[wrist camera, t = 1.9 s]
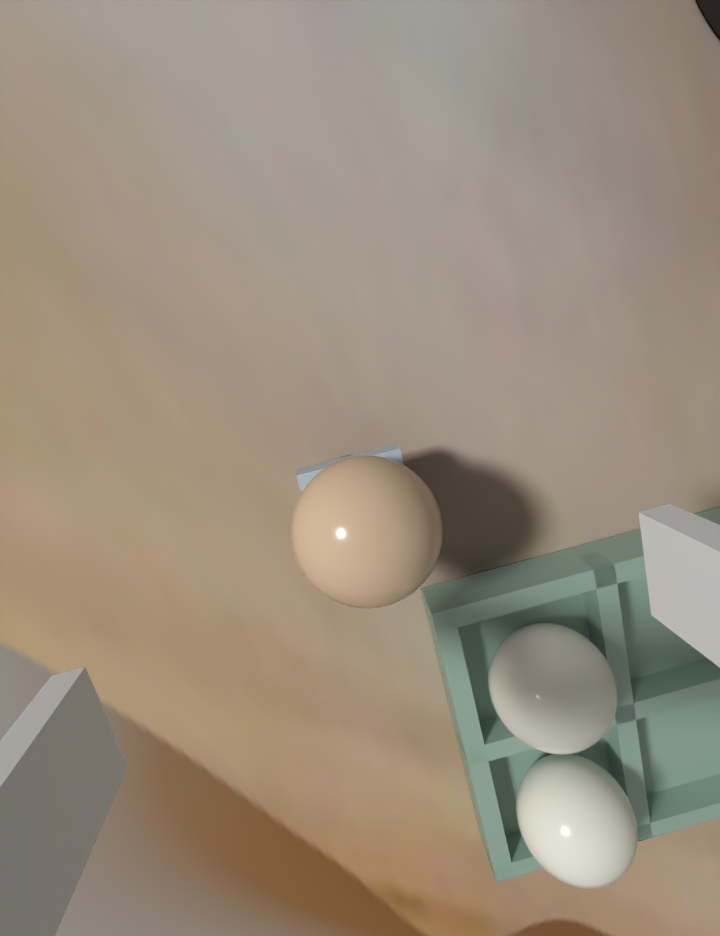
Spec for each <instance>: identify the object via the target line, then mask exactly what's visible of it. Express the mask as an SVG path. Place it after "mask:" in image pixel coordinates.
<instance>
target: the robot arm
mask: <svg viewBox="0 0 720 936" xmlns="http://www.w3.org/2000/svg"><path fill="white" fill-rule="evenodd" d="M697 2H698V4H699V6H700V8H701V10H702V11H703V13H704V15H705V17H706V18H707V20H708V21H709V23H710V24H711V26H712V27H713V29H714V30H715V31H716V33H717V34H718V35H719V36H720V0H697ZM639 520H640V528H641V536H642V544H643V552H644V561H645V569H646V577H647V585H648V593H649V601H650V609H651V615H652V616H653V617H654V618H656V619H657V620H658V621H660V622H661V623H662V624H664V625H665V626H666V627H667V628H669V629H670V630H671V631H673V632H674V633H675V634H677V635H678V636H679V637H680V638H682V639H683V640H684V641H686V642H687V643H688V644H690V645H691V646H692V647H693V648H695V649H696V650H697V651H699V652H700V653H701V654H703V655H704V656H705V657H706V658H708V659H709V660H710V661H712V662H713V663H714V664H716V665H717V666H718V667H720V525H719V524H716V523H714V522H712V521H709V520H707V519H704V518H702V517H700V516H697V515H695V514H693V513H690V512H688V511H685V510H683V509H681V508H678V507H676V506H674V505H671V504H667V505H663V506H659V507H656V508H652V509H649V510H645V511H641V512H639ZM127 767H128V763H127V761H126V759H125V757H124V754H123V752H122V750H121V748H120V745H119V743H118V741H117V738H116V736H115V734H114V732H113V729H112V727H111V725H110V722H109V720H108V718H107V716H106V713H105V711H104V709H103V706H102V704H101V702H100V700H99V697H98V695H97V693H96V690H95V688H94V686H93V684H92V681H91V679H90V677H89V675H88V672H87V670H86V668H85V667H83V668H79V669H76V670H72V671H69V672H65V673H61V674H58V675H54V676H51V677H50V679H49V680H48V682H46V684H45V685H44V686H43V688H42V689H41V690H40V691H39V693H38V694H37V695H36V697H35V698H34V699H33V700H32V701H31V703H30V704H29V705H28V706H27V708H26V709H25V710H24V712H23V713H22V714H21V715H20V717H19V718H18V719H17V721H16V722H15V723H14V724H13V726H12V727H11V728H10V729H9V731H8V732H7V733H6V734H5V736H4V737H3V738H2V740H1V741H0V936H55V934H56V932H57V929H58V927H59V925H60V922H61V920H62V918H63V915H64V913H65V911H66V909H67V906H68V904H69V902H70V899H71V897H72V895H73V893H74V890H75V888H76V885H77V883H78V881H79V879H80V876H81V874H82V872H83V869H84V867H85V865H86V863H87V860H88V858H89V856H90V853H91V851H92V849H93V846H94V844H95V842H96V839H97V837H98V835H99V832H100V830H101V828H102V825H103V823H104V821H105V819H106V816H107V814H108V812H109V809H110V807H111V804H112V802H113V800H114V798H115V796H116V793H117V791H118V788H119V786H120V784H121V782H122V779H123V777H124V775H125V772H126V770H127Z"/></svg>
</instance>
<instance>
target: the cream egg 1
mask: <svg viewBox="0 0 720 936" xmlns="http://www.w3.org/2000/svg"><path fill="white" fill-rule="evenodd" d="M488 686H489V692H490V697H491V700H492V703H493V706H494V708H495V710H496V713H497V715H498V716H499V718H500V719H501V721H502V722H503V724H504V725H505V726H506V727H507V729H508V730H509V731H510V732H511V733H512V734H513V735H514V736H516V737H517V738H518V739H519V740H521V741H522V742H523V743H525V744H527V745H529V746H530V747H532V748H534V749H537V750H539V751H543V752H546V753H550V754H573V753H577V752H580V751H583V750H585V749H587V748H589V747H591V746H593V745H594V744H595V743H597V742H598V741H599V740H600V739H601V738H602V737H603V736H604V735H605V734H606V733H607V731H608V730H609V728H610V726H611V724H612V722H613V719H614V716H615V713H616V709H617V687H616V682H615V678H614V675H613V672H612V670H611V667H610V665H609V664H608V662H607V660H606V658H605V657H604V655H603V654H602V653H601V652H600V650H599V649H598V648H597V647H596V646H595V645H594V644H593V643H592V642H591V641H590V640H589V639H587V638H586V637H585V636H583V635H582V634H580V633H578V632H577V631H575V630H573V629H570V628H568V627H565V626H562V625H558V624H552V623H535V624H531V625H527V626H524V627H521V628H519V629H517V630H515V631H513V632H512V633H511V634H509V635H508V636H507V637H506V638H505V639H504V640H503V641H502V642H501V643H500V645H499V646H498V647H497V649H496V651H495V652H494V655H493V657H492V660H491V663H490V667H489V673H488Z"/></svg>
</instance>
